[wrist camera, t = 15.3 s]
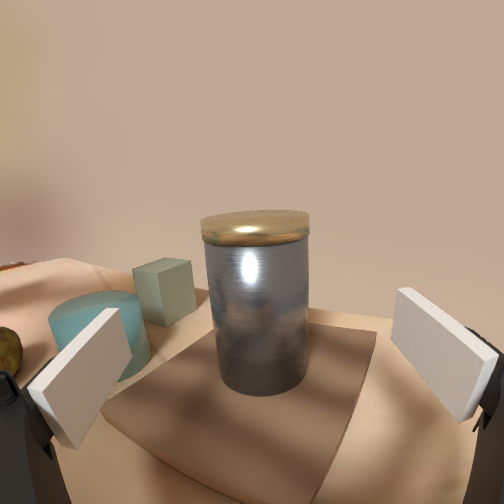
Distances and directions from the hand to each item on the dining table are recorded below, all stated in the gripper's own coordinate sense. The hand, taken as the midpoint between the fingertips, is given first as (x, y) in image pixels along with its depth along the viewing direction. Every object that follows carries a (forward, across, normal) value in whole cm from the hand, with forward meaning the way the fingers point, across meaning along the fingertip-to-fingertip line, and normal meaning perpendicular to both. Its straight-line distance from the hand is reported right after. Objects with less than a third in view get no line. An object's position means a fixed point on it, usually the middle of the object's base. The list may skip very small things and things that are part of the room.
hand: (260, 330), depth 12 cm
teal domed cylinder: (+12, -16, -10) cm, 22 cm away
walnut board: (+7, 0, -10) cm, 12 cm away
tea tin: (+8, 0, -8) cm, 11 cm away
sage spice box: (+23, -12, -10) cm, 28 cm away
